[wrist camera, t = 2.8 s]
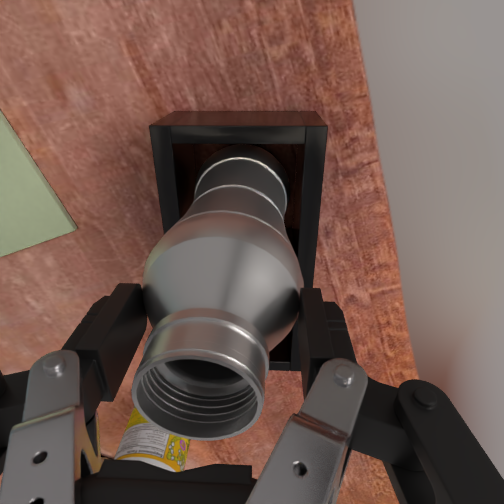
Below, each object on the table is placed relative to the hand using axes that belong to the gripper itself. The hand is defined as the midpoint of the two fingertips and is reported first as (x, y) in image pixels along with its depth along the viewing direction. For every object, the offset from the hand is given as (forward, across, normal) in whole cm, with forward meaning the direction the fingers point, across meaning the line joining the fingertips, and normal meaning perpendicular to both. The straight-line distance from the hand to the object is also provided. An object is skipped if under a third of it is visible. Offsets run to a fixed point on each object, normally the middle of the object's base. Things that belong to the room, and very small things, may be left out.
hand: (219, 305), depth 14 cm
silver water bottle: (+16, 0, 0) cm, 16 cm away
